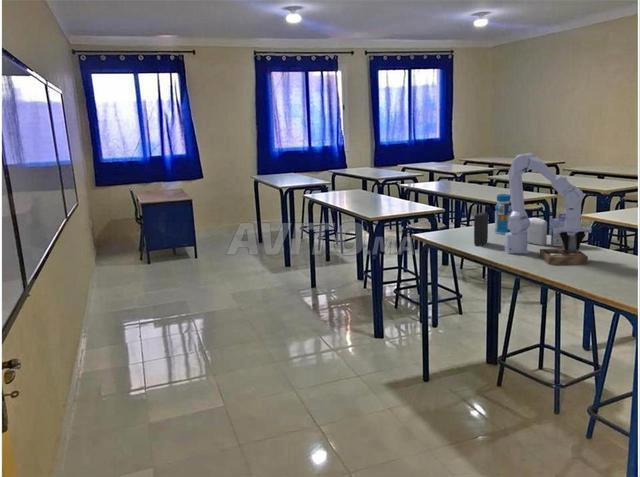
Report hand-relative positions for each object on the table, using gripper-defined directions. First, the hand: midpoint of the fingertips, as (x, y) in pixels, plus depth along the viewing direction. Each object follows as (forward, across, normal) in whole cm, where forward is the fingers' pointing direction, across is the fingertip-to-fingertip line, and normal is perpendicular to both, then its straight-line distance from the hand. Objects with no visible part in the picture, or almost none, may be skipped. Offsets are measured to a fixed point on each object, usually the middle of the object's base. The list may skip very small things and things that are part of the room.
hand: (571, 249), depth 221 cm
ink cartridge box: (+4, +4, +24) cm, 24 cm away
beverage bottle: (+4, -17, +52) cm, 55 cm away
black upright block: (+4, -32, +30) cm, 44 cm away
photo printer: (+4, -7, +28) cm, 29 cm away
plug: (+2, 0, 0) cm, 2 cm away
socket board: (+4, -4, -2) cm, 6 cm away
